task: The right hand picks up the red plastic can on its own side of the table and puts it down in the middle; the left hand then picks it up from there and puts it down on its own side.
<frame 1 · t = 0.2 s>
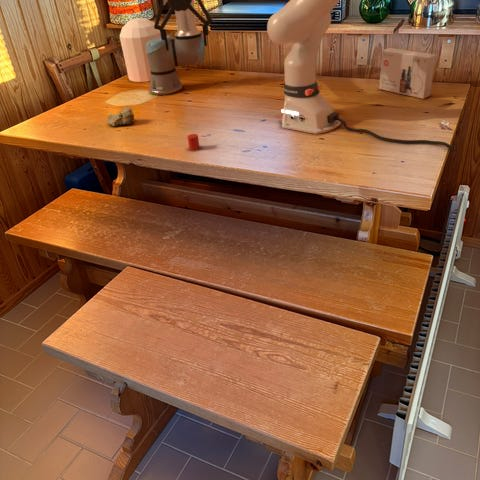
left hand: (186, 47, 164), 28 cm above the table, tool pointing down, fingers open, 13 cm apart
skincare box: (403, 93, 189), on the table
can: (194, 148, 160), on the table
container: (148, 76, 243), on the table
rock: (122, 123, 187), on the table
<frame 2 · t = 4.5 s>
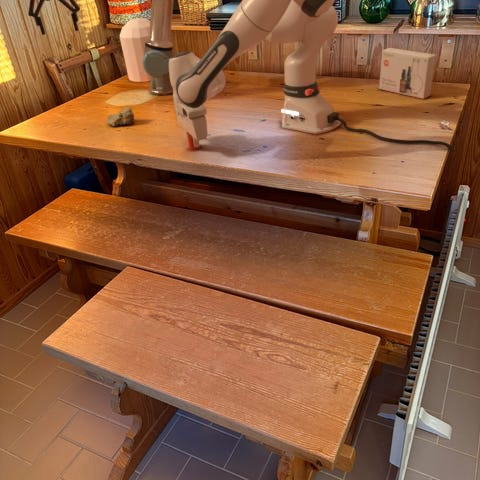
left hand: (60, 32, 191), 32 cm above the table, tool pointing down, fingers open, 13 cm apart
right hand: (193, 144, 159), 2 cm above the table, tool pointing down, fingers closed on can, 3 cm apart
can: (194, 148, 160), on the table, touching right hand
everything else where it was.
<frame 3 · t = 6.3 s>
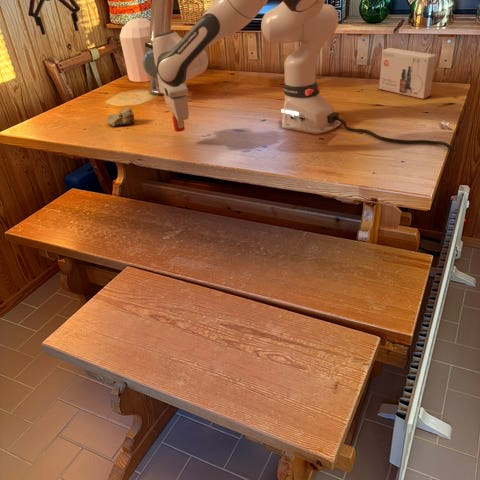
left hand: (60, 32, 191), 32 cm above the table, tool pointing down, fingers open, 13 cm apart
right hand: (179, 125, 160), 7 cm above the table, tool pointing down, fingers closed on can, 3 cm apart
can: (179, 129, 161), point 5 cm above the table, touching right hand
everything else where it was.
when the right hand's fingers open (2 cm above the table, at t = 8.5 s): can stays where it is, on the table.
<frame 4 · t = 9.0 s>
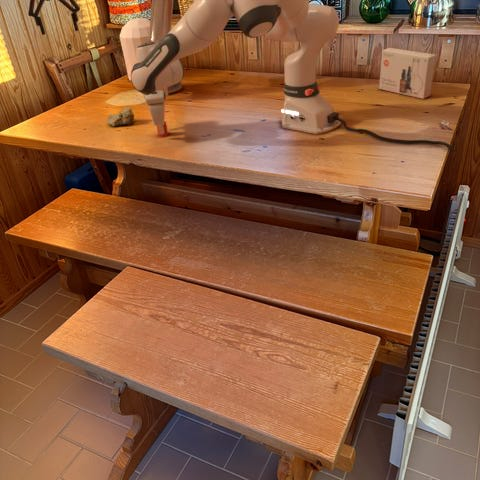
left hand: (60, 32, 191), 32 cm above the table, tool pointing down, fingers open, 13 cm apart
right hand: (162, 128, 172), 2 cm above the table, tool pointing down, fingers open, 8 cm apart
can: (163, 134, 173), on the table
everything else where it was.
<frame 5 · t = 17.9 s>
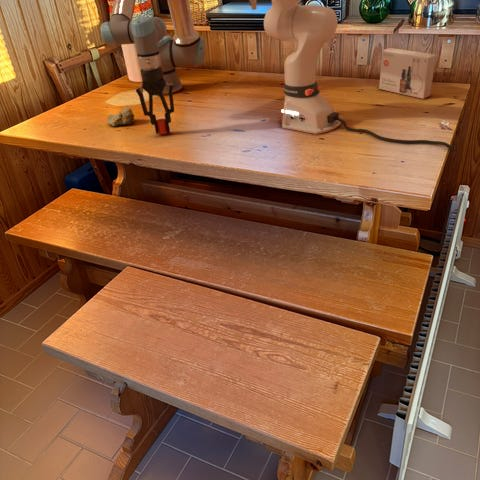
left hand: (163, 131, 173), 1 cm above the table, tool pointing down, fingers closed on can, 4 cm apart
right hand: (253, 7, 187), 34 cm above the table, tool pointing down, fingers open, 8 cm apart
can: (163, 132, 173), point 1 cm above the table, touching left hand
everything else where it was.
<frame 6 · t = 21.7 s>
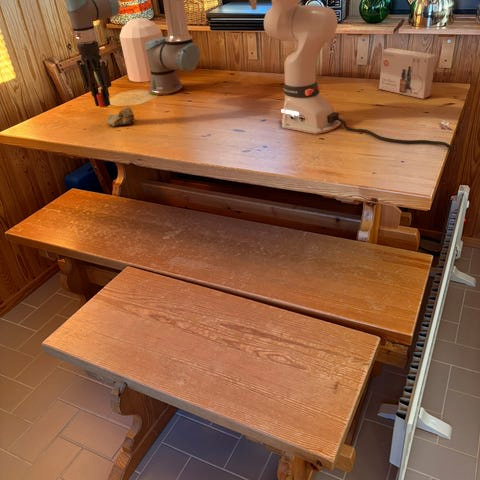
left hand: (103, 105, 181), 9 cm above the table, tool pointing down, fingers closed on can, 4 cm apart
right hand: (253, 7, 187), 34 cm above the table, tool pointing down, fingers open, 8 cm apart
can: (103, 105, 181), point 8 cm above the table, touching left hand
everything else where it was.
when the left hand's fingers open (0 cm above the table, at t = 25.9 s): can stays where it is, on the table.
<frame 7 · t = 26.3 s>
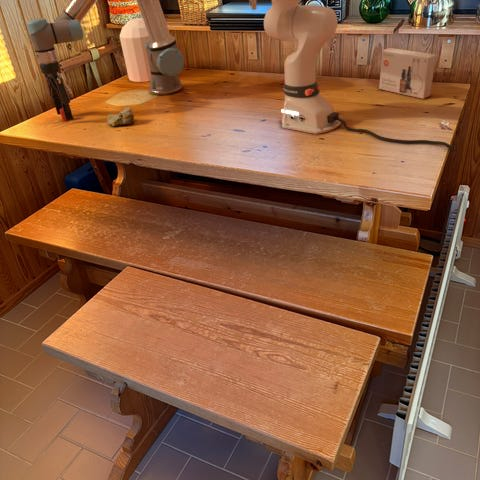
left hand: (65, 116, 195), 1 cm above the table, tool pointing down, fingers open, 10 cm apart
right hand: (253, 7, 187), 34 cm above the table, tool pointing down, fingers open, 8 cm apart
can: (66, 119, 196), on the table
everything else where it was.
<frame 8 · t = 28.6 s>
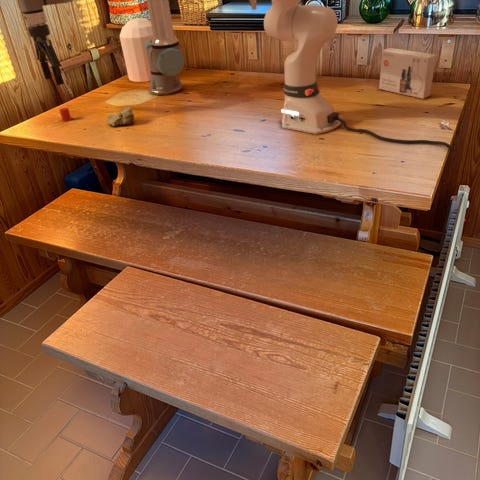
left hand: (54, 81, 187), 16 cm above the table, tool pointing down, fingers open, 13 cm apart
right hand: (253, 7, 187), 34 cm above the table, tool pointing down, fingers open, 8 cm apart
nothing on the table moved.
at the end: can inside the target area (0.3 cm from its centre), on the table; can tilted 0°; the two hands never held the can at the same time; the left hand is holding nothing; the right hand is holding nothing; can at rest at the end (0.0 cm/s) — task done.
